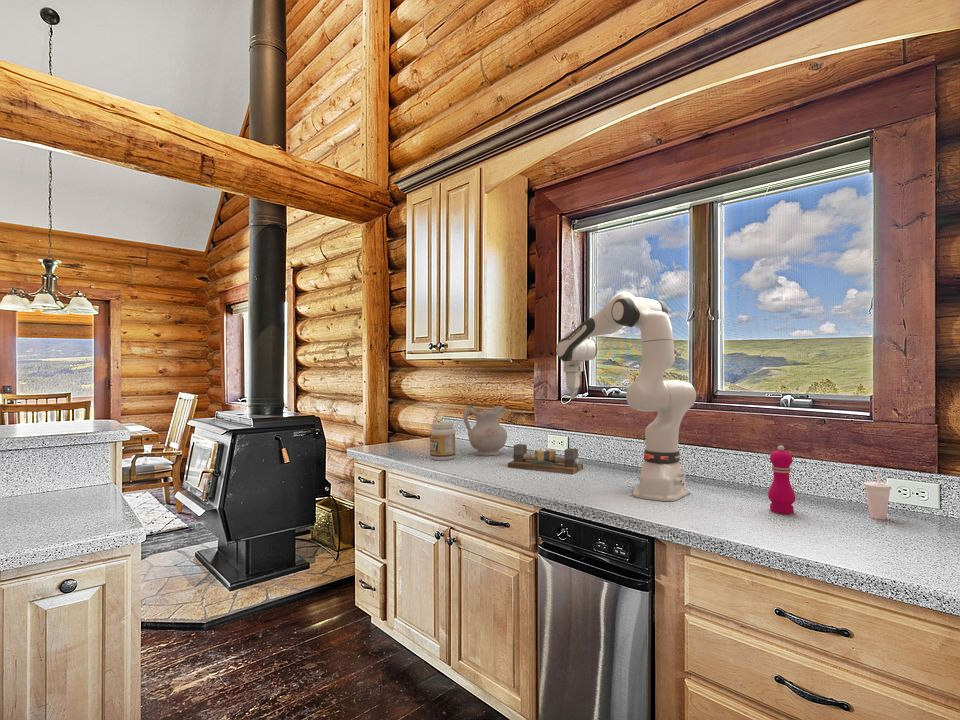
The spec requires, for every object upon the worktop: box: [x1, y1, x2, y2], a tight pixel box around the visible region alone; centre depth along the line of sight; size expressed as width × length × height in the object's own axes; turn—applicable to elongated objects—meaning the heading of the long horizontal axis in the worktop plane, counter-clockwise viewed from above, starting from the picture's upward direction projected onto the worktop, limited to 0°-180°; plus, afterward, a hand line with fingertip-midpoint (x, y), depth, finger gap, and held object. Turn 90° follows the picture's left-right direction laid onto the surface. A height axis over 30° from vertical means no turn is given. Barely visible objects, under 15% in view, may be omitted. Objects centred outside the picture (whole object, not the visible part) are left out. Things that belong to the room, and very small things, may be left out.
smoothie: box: [863, 468, 892, 521], centre depth 151 cm, size 6×6×14 cm
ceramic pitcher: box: [462, 404, 508, 457], centre depth 260 cm, size 22×20×25 cm
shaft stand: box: [507, 443, 584, 475], centre depth 225 cm, size 12×30×9 cm, turn 59°
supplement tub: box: [429, 421, 456, 461], centre depth 250 cm, size 12×12×17 cm
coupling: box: [534, 448, 557, 461], centre depth 225 cm, size 4×8×4 cm, turn 101°
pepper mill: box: [767, 445, 796, 515], centre depth 158 cm, size 7×7×20 cm
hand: (573, 398), depth 238 cm, fingers open, 8 cm apart
